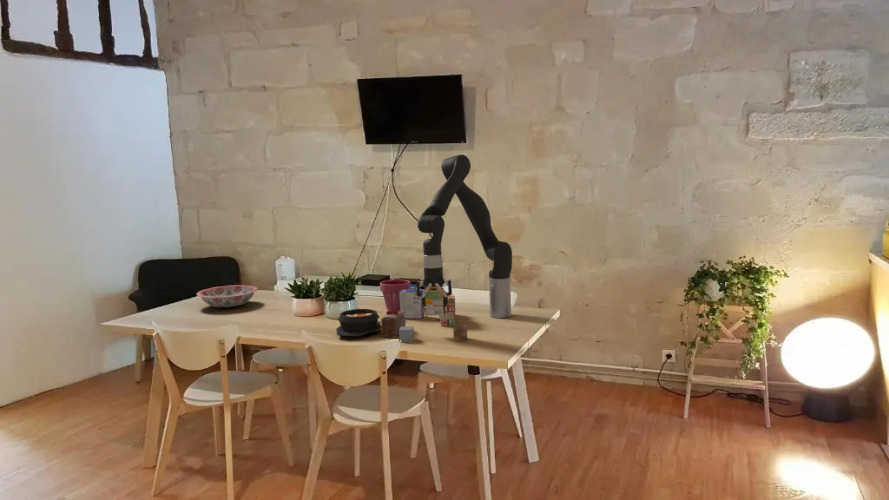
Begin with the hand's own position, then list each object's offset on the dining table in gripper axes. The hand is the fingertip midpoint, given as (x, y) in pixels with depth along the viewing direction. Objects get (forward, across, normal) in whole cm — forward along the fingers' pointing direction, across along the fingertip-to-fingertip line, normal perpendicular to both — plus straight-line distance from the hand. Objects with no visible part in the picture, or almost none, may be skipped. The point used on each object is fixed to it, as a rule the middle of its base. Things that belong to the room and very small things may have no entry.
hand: (435, 306), depth 273 cm
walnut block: (+12, -10, +7) cm, 17 cm away
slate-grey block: (+12, +11, +7) cm, 18 cm away
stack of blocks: (+12, -2, -25) cm, 28 cm away
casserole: (+12, +32, -6) cm, 35 cm away
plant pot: (+12, +23, -49) cm, 56 cm away
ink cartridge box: (+12, +13, -31) cm, 36 cm away
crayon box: (+4, 0, 0) cm, 4 cm away
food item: (+12, +18, -4) cm, 22 cm away
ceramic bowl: (+11, +109, -60) cm, 125 cm away
